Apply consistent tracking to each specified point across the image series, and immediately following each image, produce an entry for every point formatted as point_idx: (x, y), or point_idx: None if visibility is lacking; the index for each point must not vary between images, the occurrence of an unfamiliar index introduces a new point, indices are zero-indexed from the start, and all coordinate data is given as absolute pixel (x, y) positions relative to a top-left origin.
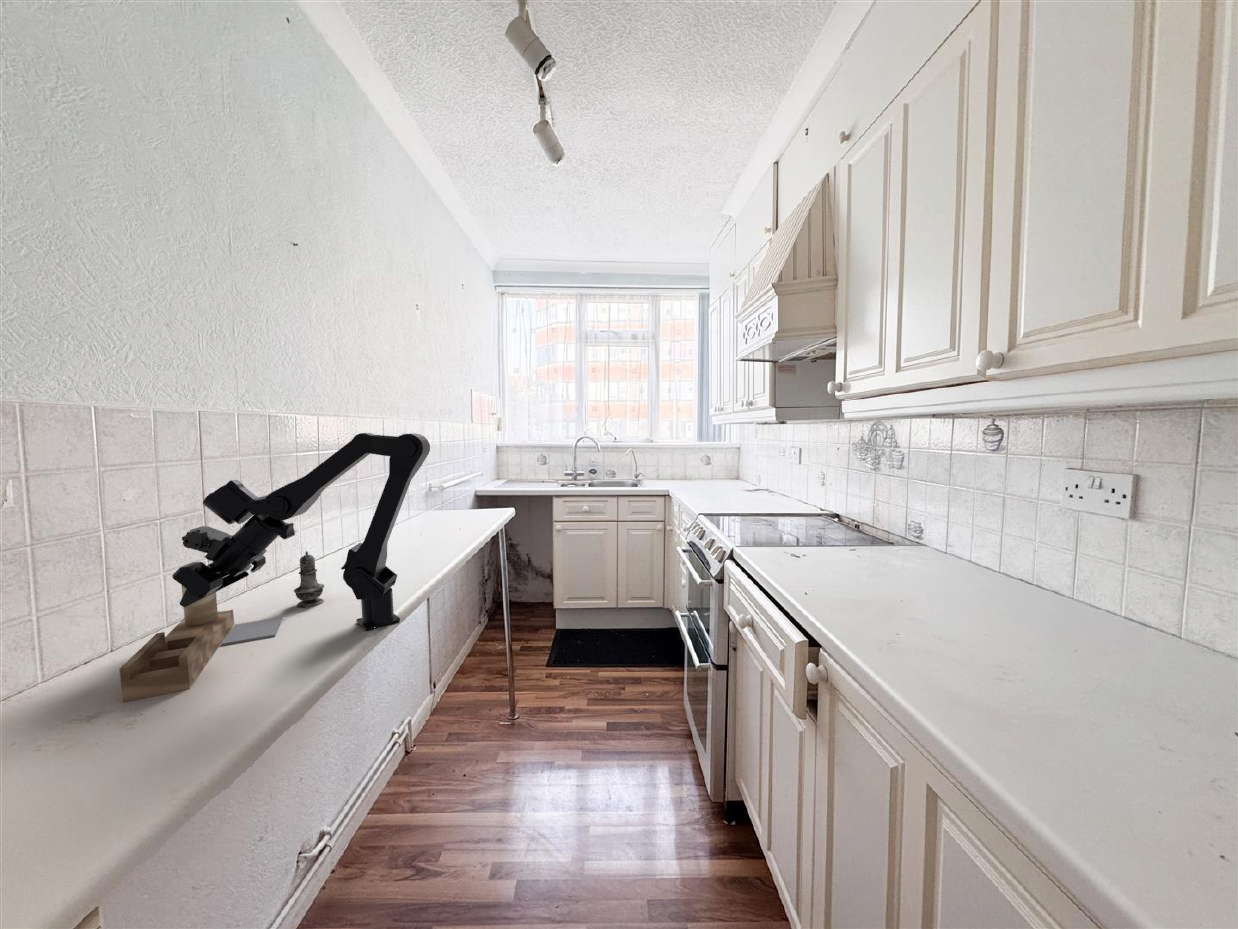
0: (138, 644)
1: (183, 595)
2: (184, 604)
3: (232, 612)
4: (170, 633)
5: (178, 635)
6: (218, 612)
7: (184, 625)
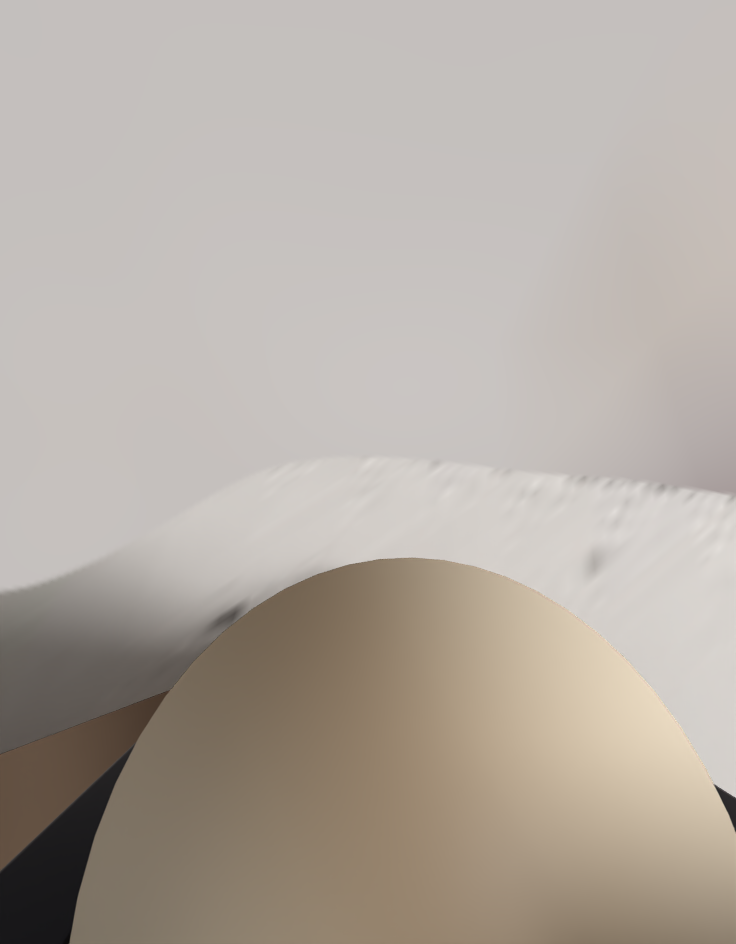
0: (294, 481)
1: (67, 810)
2: None
3: None
4: (95, 731)
5: (2, 857)
6: None
7: None
